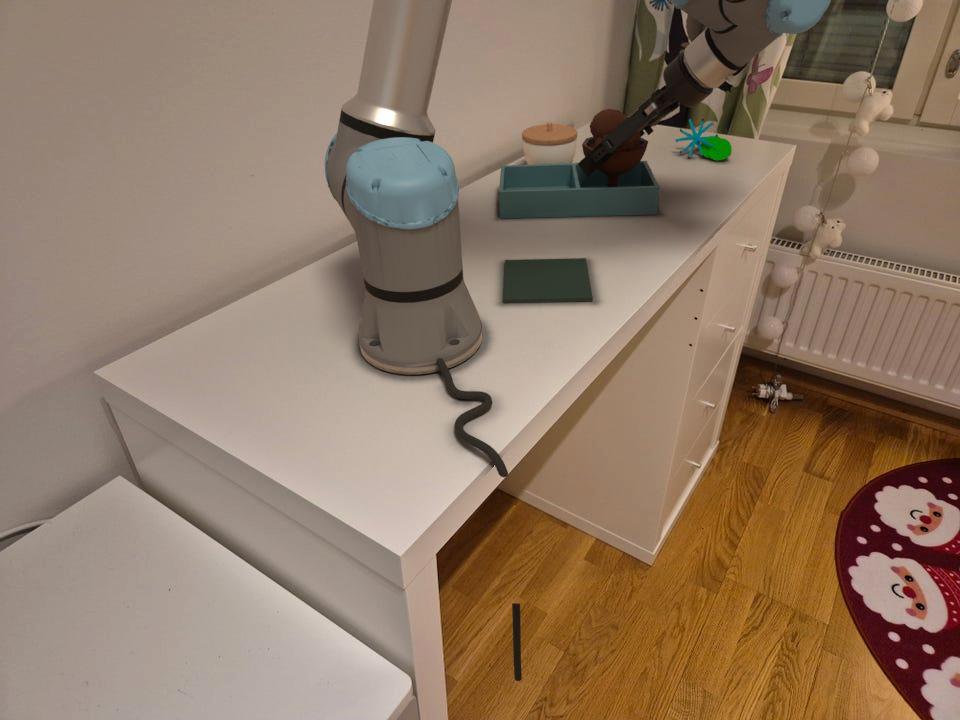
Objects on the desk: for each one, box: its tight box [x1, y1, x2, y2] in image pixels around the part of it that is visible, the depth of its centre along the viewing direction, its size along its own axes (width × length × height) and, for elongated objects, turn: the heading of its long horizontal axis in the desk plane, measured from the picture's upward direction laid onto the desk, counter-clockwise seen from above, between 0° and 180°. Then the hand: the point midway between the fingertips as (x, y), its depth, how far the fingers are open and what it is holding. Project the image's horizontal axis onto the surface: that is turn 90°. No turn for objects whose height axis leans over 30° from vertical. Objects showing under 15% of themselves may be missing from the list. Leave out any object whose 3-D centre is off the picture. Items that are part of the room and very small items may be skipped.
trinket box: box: [521, 122, 578, 165], centre depth 129 cm, size 11×11×9 cm
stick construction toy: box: [674, 118, 733, 162], centre depth 134 cm, size 12×7×8 cm
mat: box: [502, 257, 594, 304], centre depth 93 cm, size 12×12×1 cm
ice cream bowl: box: [581, 108, 649, 187], centre depth 112 cm, size 11×11×15 cm
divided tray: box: [498, 160, 660, 220], centre depth 116 cm, size 14×26×5 cm, turn 87°
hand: (598, 160), depth 114 cm, fingers closed on ice cream bowl, 11 cm apart
